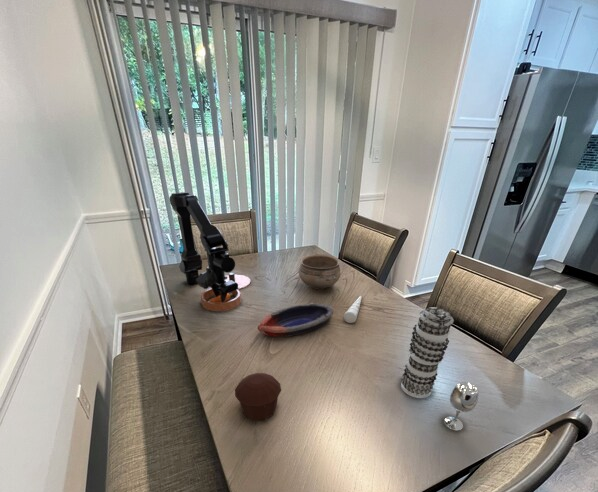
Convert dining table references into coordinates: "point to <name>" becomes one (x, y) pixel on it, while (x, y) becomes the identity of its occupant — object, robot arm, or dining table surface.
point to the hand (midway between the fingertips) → (220, 300)
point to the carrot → (218, 298)
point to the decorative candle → (426, 351)
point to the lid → (239, 280)
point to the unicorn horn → (353, 311)
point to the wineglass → (461, 403)
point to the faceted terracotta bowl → (222, 305)
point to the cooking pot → (319, 270)
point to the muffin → (258, 395)
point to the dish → (295, 320)
